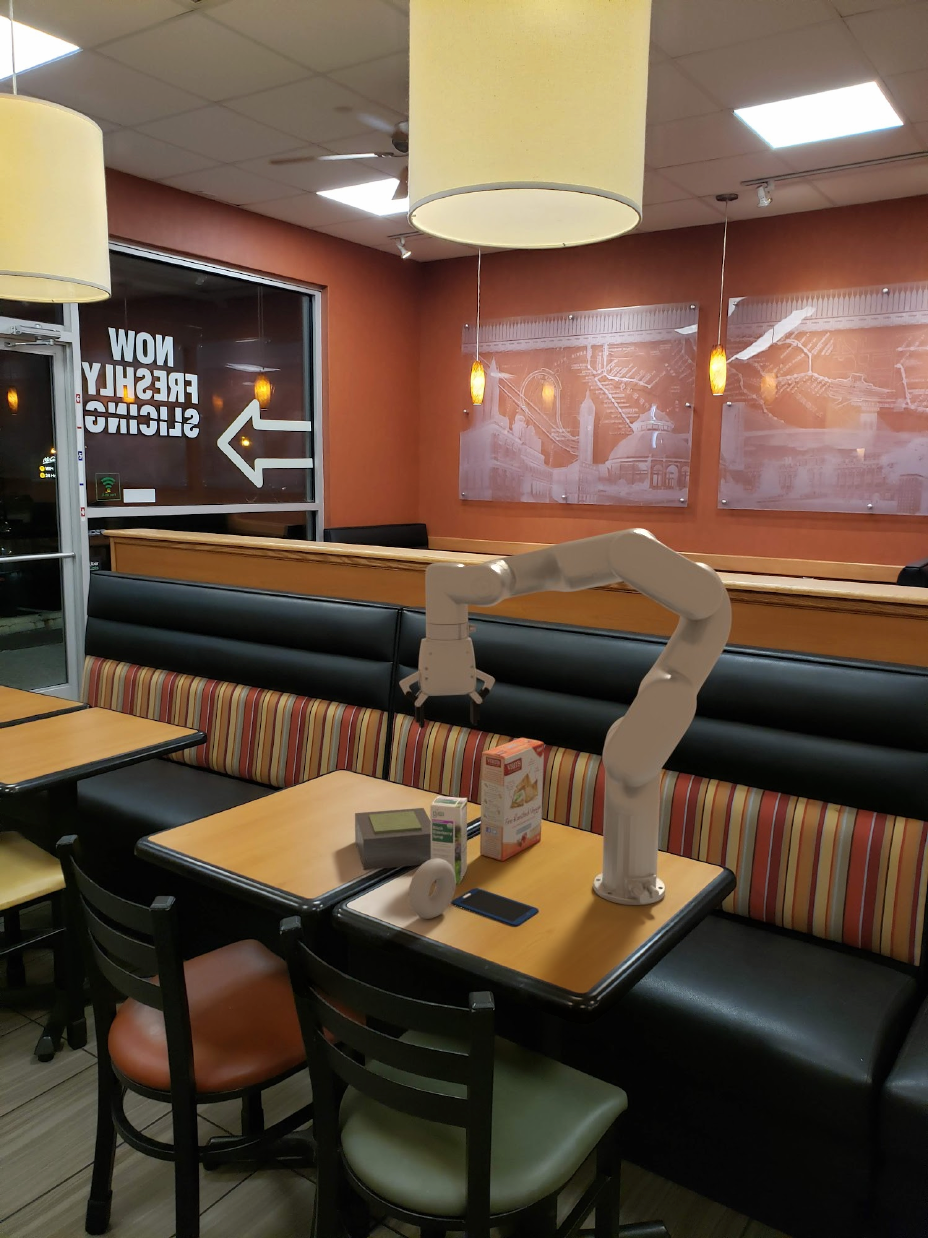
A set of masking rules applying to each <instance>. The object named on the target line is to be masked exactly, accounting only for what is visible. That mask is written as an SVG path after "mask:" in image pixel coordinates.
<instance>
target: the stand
mask: <svg viewBox="0 0 928 1238" xmlns="http://www.w3.org/2000/svg"><path fill="white" fill-rule="evenodd" d="M354 832H355V834H354V835H355V836H354V837H355V838H354V840H355V841H354V842H355V845H356V848H357V852H358V855H359V859H360V862H361V866H362V869H363V871H366V870H368V871H369V870H370V871H371V870H378V869H390V868H399V867H411V866H421V865H422V864H424V863H425V862H427V861H428V860H431V827H430V816H428V814H427V812H426V810H425V808H424V807H415V808H406V809H393V810H380V811H378V810H377V811H368V812H367V811H366V812H355V813H354Z"/></svg>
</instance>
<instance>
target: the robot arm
mask: <svg viewBox="0 0 928 1238" xmlns="http://www.w3.org/2000/svg"><path fill="white" fill-rule="evenodd" d="M424 574H425V580H424V581H425V638H422V639H421V640H420V641H421V642H420V648H419V655H418V671H417V670H416V672H414V673H412V674H410V675H408V676H407V677H405V678H402V679H401V680H400V681H399V682H398V683H399V686H400V688H401V690H402V692H403V693H404V696H405V697H406V698H407V699H408V700H409V701H410V702H411V703H412V704H414V718H415V719H414V720H415V724H417V723H418V726H419V728H420V729H424V728H425V724H426V723H425V721H426V720H425V719H426V718H425V706H424V702H425V701H426V699H428V698H429V696H430V697H431V696H432V697H433V696H434V697H435V696H438V697H439V696H456V695H457V696H458V695H459V696H460V695H469V696H470V697H471V701H470V702H469V703H470V704H469V706H470V707H469V712H470V713H469V718H470V719H469V721H470V723H471V724H472V725H473V726H478V720H481V703H483V700H485V698H486V697H488V696H489V694H490V692H491V689H492V688H493V686H494V684H495V682H496V679H495V678H494V677H493V676H491V675H489V674H487V673H485V672H483V671H481V670H479V669H477V668H476V659H475V651H474V645H473V644H474V643H473V642H472V641H473V640H472V638H471V637H469V635H470V634H471V633H475V632H477V625H476V624H471V623H470V622H469V612H468V611H469V607H468V606H470V605H471V606H475V607H482V608H483V607H484V608H487V607H488V608H489V607H493V606H495V605H498V604H499V603H501V602H502V601H503V600H506V599H510V598H513V597H514V598H515V597H519V596H523V595H528V594H529V595H530V594H533V593H534V594H535V593H540V592H549V591H550V592H551V591H555V592H563V593H566V592H567V593H569V592H577V591H581V590H587V589H592V588H596V587H602V586H606V585H607V586H608V585H611V584H617V583H620V582H623V583H625V584H626V585H628V586H630V587H631V588H633V589H634V590H636V591H637V592H639V593H641V594H643V595H644V596H646V597H648V599H650V600H652V601H654V602H656V603H657V604H659V605H661V606H662V607H664V608H666V609H667V610H669V611H671V612H673V613H675V614H676V615H678V616H679V620H678V623H677V626H676V629H674V632H673V633H672V635H671V637H670V639H669V640H668V642H667V644H666V646H665V647H664V649H663V650H662V651H661V654H660V655H659V656H658V657H657V660H656V661H655V663H654V664H653V665H652V667H651V668H650V670H649V671H648V673H647V674H646V675H645V676H644V677H643V678H642V680H641V682H640V685H639V688H638V691H637V695H636V697H635V698H634V699H633V702H632V703H631V705H630V707H628V710H627V711H626V713H625V715H624V716H621V717H620V718H618V719H617V720H616V721H614V723H613V724H612V725H611V726H610V728H609V729H608V731H607V734H606V737H605V740H604V746H603V750H602V763H603V767H604V770H605V777H604V804H603V805H604V806H603V832H602V833H603V834H602V835H603V836H602V838H603V839H602V843H603V844H602V870H601V871H602V872H601V873H599V874H598V875H596V877H594V879H593V881H592V887H593V890H594V892H595V893H596V894H597V895H598V896H600V897H601V898H602V899H605V900H607V901H609V902H612V903H616V904H618V905H619V904H620V905H626V906H643V905H644V906H645V905H650V904H654V903H656V902H659V901H660V900H662V899H663V898H664V896H665V895H666V885H665V883H664V881H662V879H660V878H659V877H657V876H658V853H659V852H658V851H659V828H660V827H659V825H660V806H661V805H660V802H661V773H662V768H663V766H664V765H665V763H667V761H668V759H669V757H671V755H672V754H673V752H674V750H675V749H676V747H677V745H678V744H679V743H680V741H681V740H682V738H683V736H684V735H685V734H686V732H687V730H688V729H689V727H690V725H691V723H692V721H693V719H694V717H695V714H696V710H697V705H698V704H697V695H698V693H700V690H701V687H703V685H704V683H705V682H706V680H707V678H708V677H709V675H710V673H711V671H712V670H713V669H714V666H715V665H716V663H717V662H718V660H719V658H720V656H721V655H722V652H724V649H725V648H726V644H727V642H728V640H729V637H730V633H731V628H732V620H733V618H732V617H733V616H732V614H733V613H732V604H731V599H730V596H729V594H728V590H727V589H726V586H725V585H724V582H723V581H722V579H721V577H720V576H719V574H718V572H716V570H715V569H714V568H713V567H711V566H710V565H708V564H706V563H703V562H695V561H693V560H691V559H689V558H687V557H686V556H684V555H682V554H680V553H678V552H677V551H675V550H673V549H672V548H670V547H669V546H666V545H665V544H664V543H662V542H661V541H659V540H658V539H657V537H656V536H655V535H654V533H651V532H650V530H648V529H647V530H646V529H645V528H639V527H636V528H635V527H634V528H627V529H624V530H618V531H617V530H616V531H613V532H609V533H604V534H599V535H595V536H594V535H593V536H591V537H586V538H585V537H584V538H581V539H575V540H572V541H566V542H561V543H556V544H554V545H551V546H549V547H545V548H541V549H538V550H533V551H528V552H523V553H519V554H514V555H513V554H512V555H509V556H505V557H499V558H495V559H490V560H486V561H483V562H482V563H478V564H473V565H464V564H463V563H461V562H460V563H459V562H444V561H443V562H433V563H431V564H428V565H427V567H426V569H425V573H424ZM477 679H480V680H482V681H483V682H484V684H483V685H482V686H483V687H481V689H480V690H478V692H477V691H476V689H477ZM417 682H418V688H419V691H418V692H417V693H416V694H415V692H413V691H412V690H411V689H410V686H411V685H412V684H414V683H417Z"/></svg>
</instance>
